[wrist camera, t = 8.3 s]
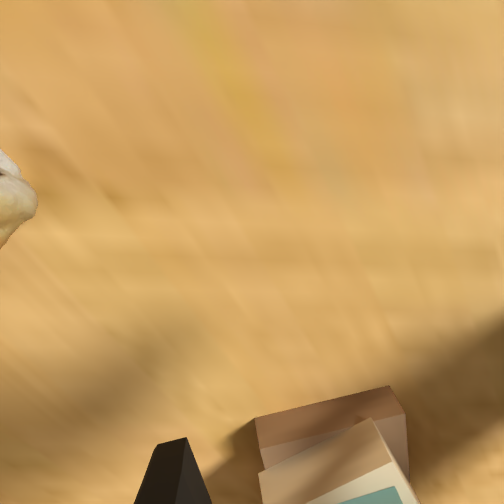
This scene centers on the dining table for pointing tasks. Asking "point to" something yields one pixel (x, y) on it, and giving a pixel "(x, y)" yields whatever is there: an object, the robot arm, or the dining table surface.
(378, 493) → the teal block
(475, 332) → the dining table surface
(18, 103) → the dining table surface
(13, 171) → the pastry
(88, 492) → the dining table surface
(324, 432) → the tower base
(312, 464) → the tower top
